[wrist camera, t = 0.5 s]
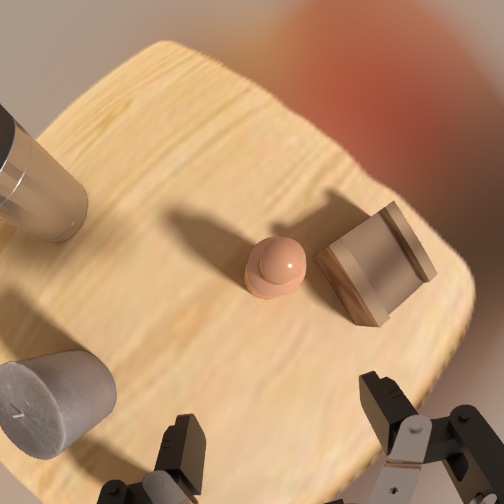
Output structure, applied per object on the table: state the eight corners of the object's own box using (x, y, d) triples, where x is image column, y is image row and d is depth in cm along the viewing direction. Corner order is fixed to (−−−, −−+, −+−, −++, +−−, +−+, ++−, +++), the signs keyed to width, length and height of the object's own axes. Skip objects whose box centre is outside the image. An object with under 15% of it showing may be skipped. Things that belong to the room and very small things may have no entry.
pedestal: (312, 256, 35) (328, 245, 29) (371, 216, 37) (393, 200, 31) (356, 325, 34) (379, 327, 28) (410, 279, 35) (437, 273, 29)
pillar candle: (68, 421, 29) (5, 461, 14) (46, 353, 30) (-30, 366, 16) (128, 416, 30) (76, 469, 15) (104, 342, 32) (33, 357, 17)
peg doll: (235, 269, 34) (236, 247, 23) (272, 246, 35) (292, 213, 23) (259, 307, 34) (274, 306, 22) (297, 283, 34) (329, 269, 23)
